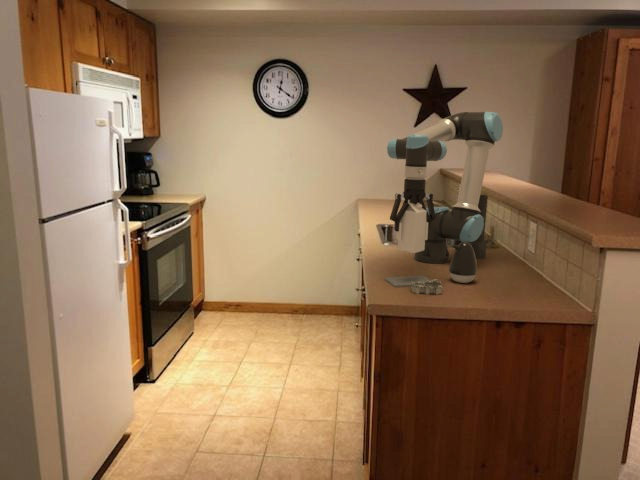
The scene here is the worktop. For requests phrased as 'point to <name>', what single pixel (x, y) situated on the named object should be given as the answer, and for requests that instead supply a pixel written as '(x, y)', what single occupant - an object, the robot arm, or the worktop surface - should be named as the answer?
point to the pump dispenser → (463, 263)
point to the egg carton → (427, 287)
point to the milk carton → (413, 229)
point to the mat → (405, 280)
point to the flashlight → (479, 244)
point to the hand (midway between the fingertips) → (411, 239)
